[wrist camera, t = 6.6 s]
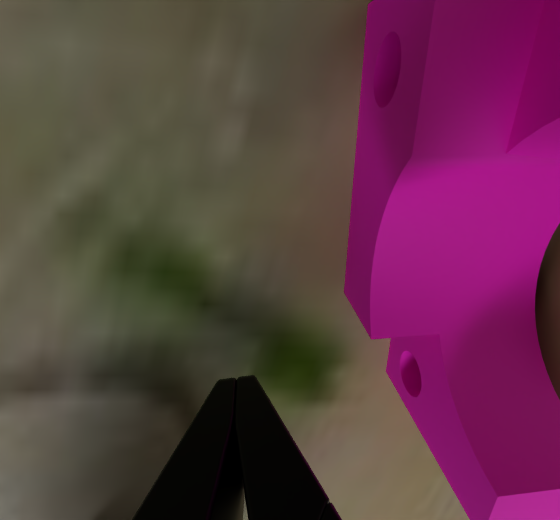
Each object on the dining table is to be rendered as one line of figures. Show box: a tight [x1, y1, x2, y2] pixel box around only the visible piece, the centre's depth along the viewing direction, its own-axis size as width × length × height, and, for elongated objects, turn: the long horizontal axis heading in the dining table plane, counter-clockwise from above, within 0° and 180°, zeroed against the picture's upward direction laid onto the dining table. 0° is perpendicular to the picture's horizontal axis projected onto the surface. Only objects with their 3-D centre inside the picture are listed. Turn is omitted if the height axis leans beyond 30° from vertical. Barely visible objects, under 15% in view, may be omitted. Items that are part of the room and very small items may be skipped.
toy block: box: [344, 0, 560, 520], centre depth 11 cm, size 15×6×8 cm, turn 0°
